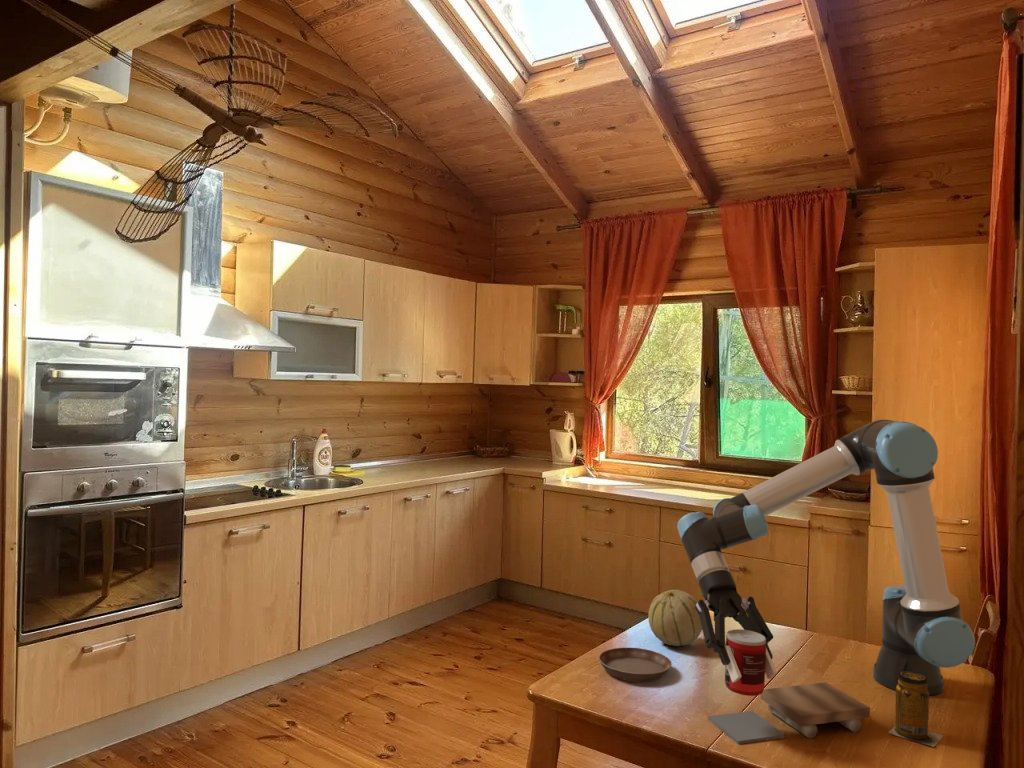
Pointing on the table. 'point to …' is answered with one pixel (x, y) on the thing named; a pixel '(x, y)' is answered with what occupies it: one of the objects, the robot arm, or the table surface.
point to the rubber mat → (746, 727)
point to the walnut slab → (815, 707)
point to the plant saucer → (635, 664)
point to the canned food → (747, 661)
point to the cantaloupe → (674, 618)
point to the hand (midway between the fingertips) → (754, 677)
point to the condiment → (913, 710)
